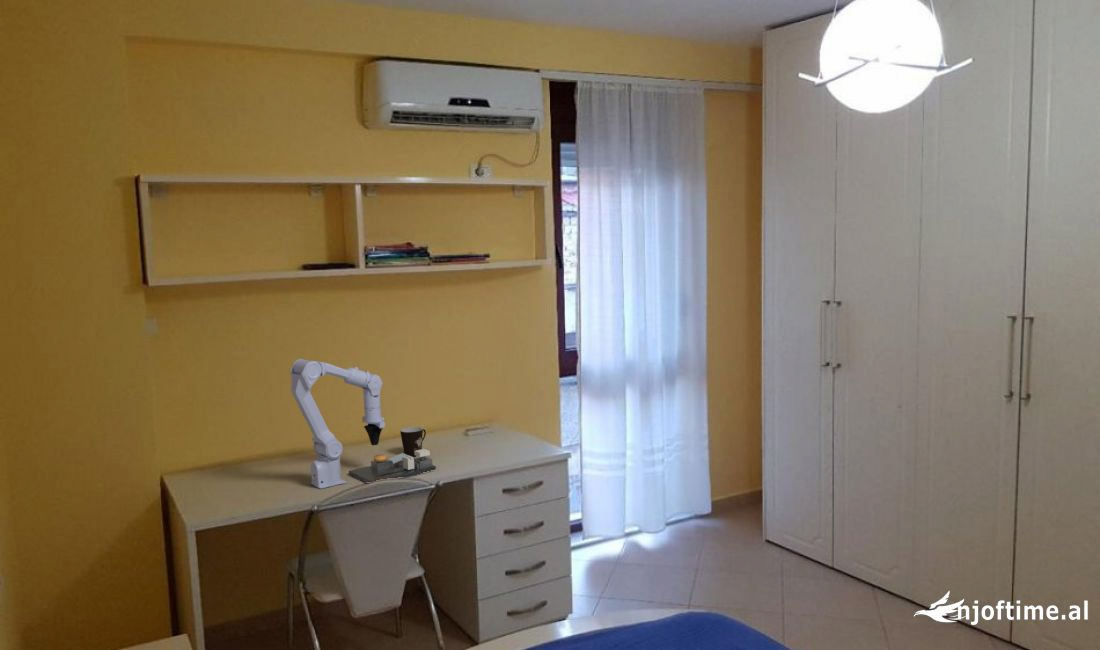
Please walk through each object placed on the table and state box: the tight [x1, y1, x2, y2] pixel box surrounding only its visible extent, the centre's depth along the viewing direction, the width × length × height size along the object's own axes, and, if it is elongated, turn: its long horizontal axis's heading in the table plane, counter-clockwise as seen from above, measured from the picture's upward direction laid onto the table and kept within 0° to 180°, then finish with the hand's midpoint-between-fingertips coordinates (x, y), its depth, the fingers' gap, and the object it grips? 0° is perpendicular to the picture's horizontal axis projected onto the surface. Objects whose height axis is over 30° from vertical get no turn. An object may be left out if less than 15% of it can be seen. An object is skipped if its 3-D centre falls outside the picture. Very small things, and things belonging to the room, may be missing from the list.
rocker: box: [387, 452, 407, 464], centre depth 300 cm, size 6×4×1 cm, turn 128°
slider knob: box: [402, 455, 415, 470], centre depth 292 cm, size 2×4×4 cm, turn 38°
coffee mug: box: [399, 426, 427, 458], centre depth 318 cm, size 12×9×10 cm
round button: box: [373, 454, 388, 462], centre depth 296 cm, size 4×4×4 cm
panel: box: [348, 456, 437, 483], centre depth 294 cm, size 25×18×4 cm
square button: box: [414, 448, 431, 460], centre depth 296 cm, size 4×4×4 cm
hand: (374, 444), depth 296 cm, fingers closed
